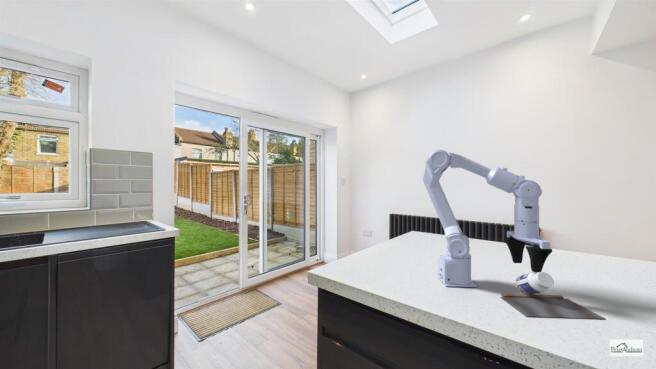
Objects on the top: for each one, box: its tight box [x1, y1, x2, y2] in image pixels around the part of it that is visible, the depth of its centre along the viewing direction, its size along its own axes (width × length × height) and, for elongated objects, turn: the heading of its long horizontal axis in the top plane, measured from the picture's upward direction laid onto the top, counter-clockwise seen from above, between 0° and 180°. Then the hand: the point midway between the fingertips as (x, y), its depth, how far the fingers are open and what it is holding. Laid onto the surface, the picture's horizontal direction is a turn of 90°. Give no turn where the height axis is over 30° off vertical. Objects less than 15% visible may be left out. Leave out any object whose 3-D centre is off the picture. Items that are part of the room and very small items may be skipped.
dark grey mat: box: [500, 293, 606, 320], centre depth 66 cm, size 18×11×1 cm, turn 86°
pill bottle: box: [515, 271, 555, 295], centre depth 70 cm, size 5×5×9 cm
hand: (526, 267), depth 73 cm, fingers open, 7 cm apart
